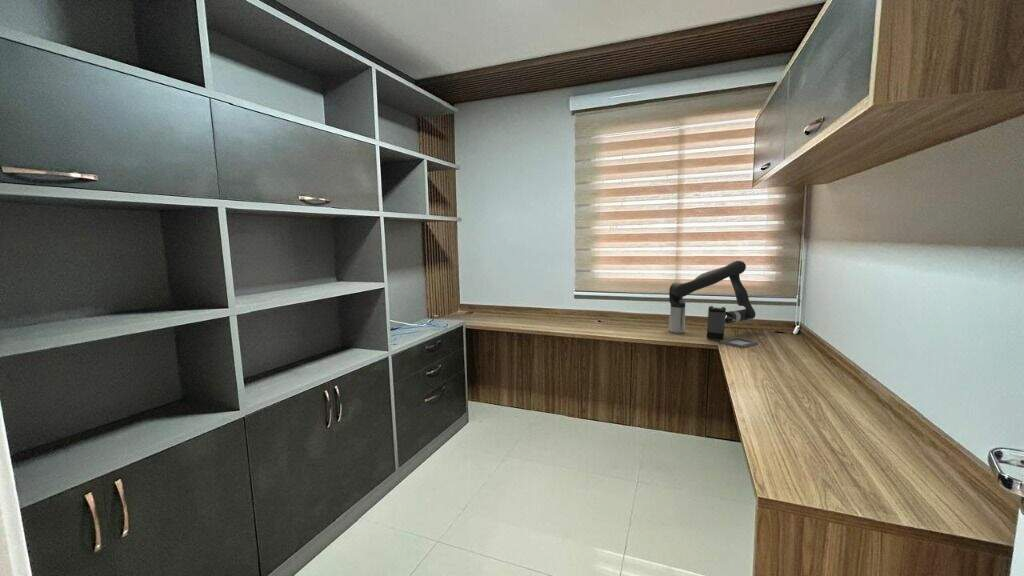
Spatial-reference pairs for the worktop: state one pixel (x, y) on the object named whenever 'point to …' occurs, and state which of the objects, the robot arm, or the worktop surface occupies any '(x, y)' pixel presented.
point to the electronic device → (716, 323)
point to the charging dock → (739, 342)
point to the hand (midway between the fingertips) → (714, 319)
